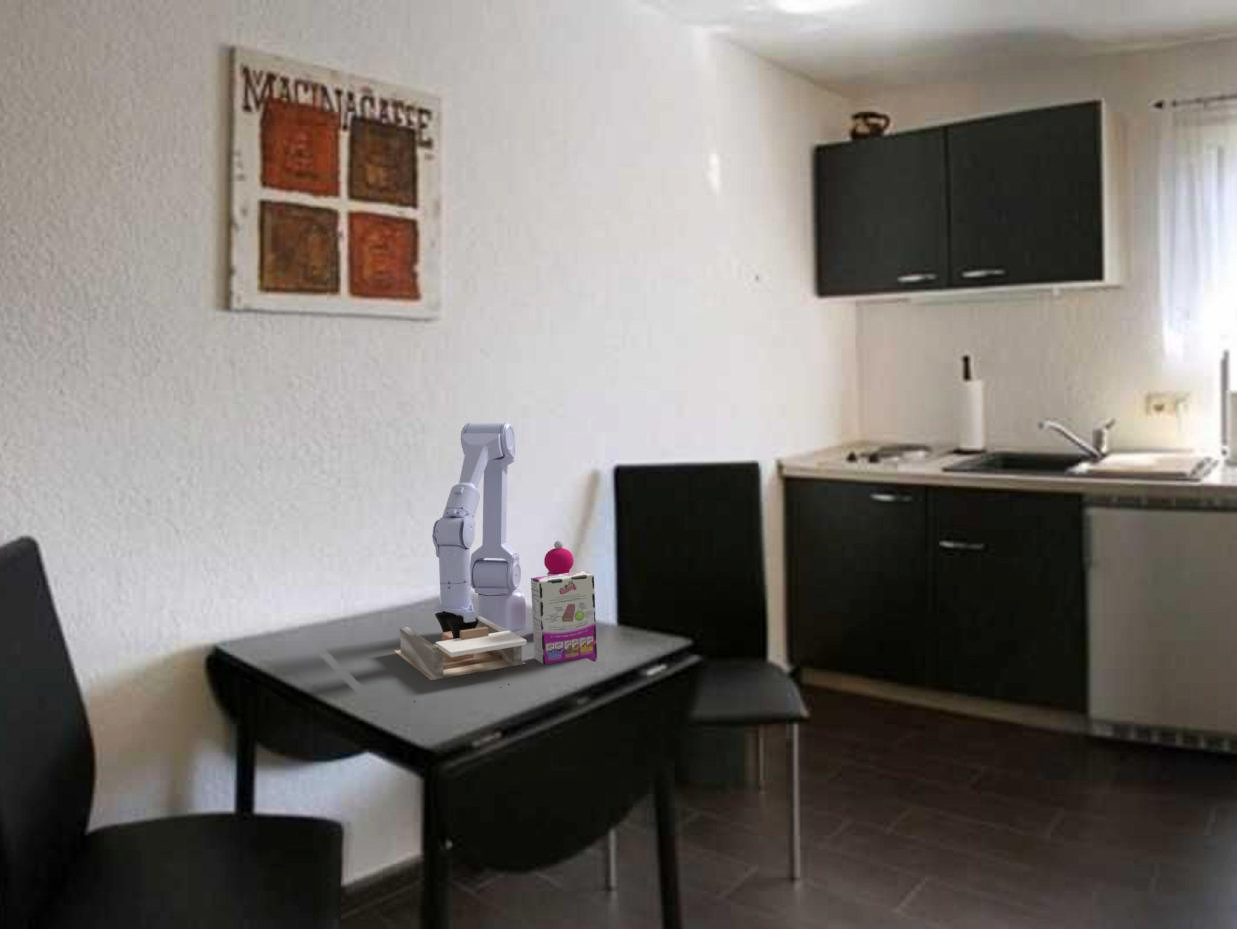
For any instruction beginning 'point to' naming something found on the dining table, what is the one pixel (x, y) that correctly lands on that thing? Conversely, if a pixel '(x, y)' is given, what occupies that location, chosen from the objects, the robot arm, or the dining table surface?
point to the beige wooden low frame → (439, 667)
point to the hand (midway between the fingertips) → (457, 652)
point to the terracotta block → (449, 637)
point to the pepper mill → (558, 560)
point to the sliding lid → (479, 642)
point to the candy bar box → (564, 617)
